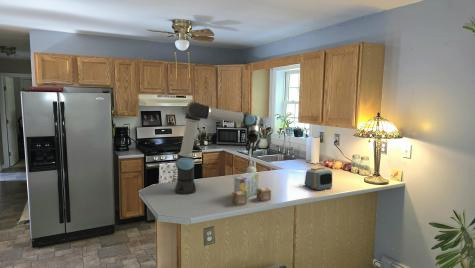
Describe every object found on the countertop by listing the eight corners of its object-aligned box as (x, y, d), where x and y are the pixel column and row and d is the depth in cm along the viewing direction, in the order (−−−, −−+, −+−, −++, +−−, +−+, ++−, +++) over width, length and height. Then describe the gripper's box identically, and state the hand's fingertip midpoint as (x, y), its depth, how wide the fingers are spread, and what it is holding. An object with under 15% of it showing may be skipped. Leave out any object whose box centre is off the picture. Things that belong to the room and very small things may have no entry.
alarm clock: (318, 191, 232) (319, 170, 230) (303, 185, 246) (304, 166, 244) (333, 188, 241) (334, 168, 239) (317, 183, 255) (319, 164, 253)
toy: (259, 178, 264) (260, 161, 262) (246, 181, 251) (247, 163, 250) (249, 175, 271) (250, 159, 269) (237, 179, 258) (237, 161, 256)
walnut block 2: (256, 198, 212) (256, 188, 211) (265, 197, 215) (265, 187, 214) (261, 201, 206) (262, 191, 205) (270, 200, 209) (271, 190, 208)
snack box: (252, 191, 226) (252, 171, 224) (258, 193, 222) (259, 173, 220) (233, 198, 209) (234, 177, 207) (239, 200, 206) (240, 179, 204)
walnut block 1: (232, 202, 203) (232, 191, 202) (241, 201, 206) (242, 190, 205) (237, 206, 196) (237, 195, 195) (246, 204, 199) (247, 193, 198)
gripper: (261, 136, 240) (258, 161, 226) (245, 135, 242) (241, 160, 228) (261, 130, 234) (258, 155, 220) (244, 129, 236) (240, 154, 222)
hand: (249, 158), depth 224 cm, fingers closed
